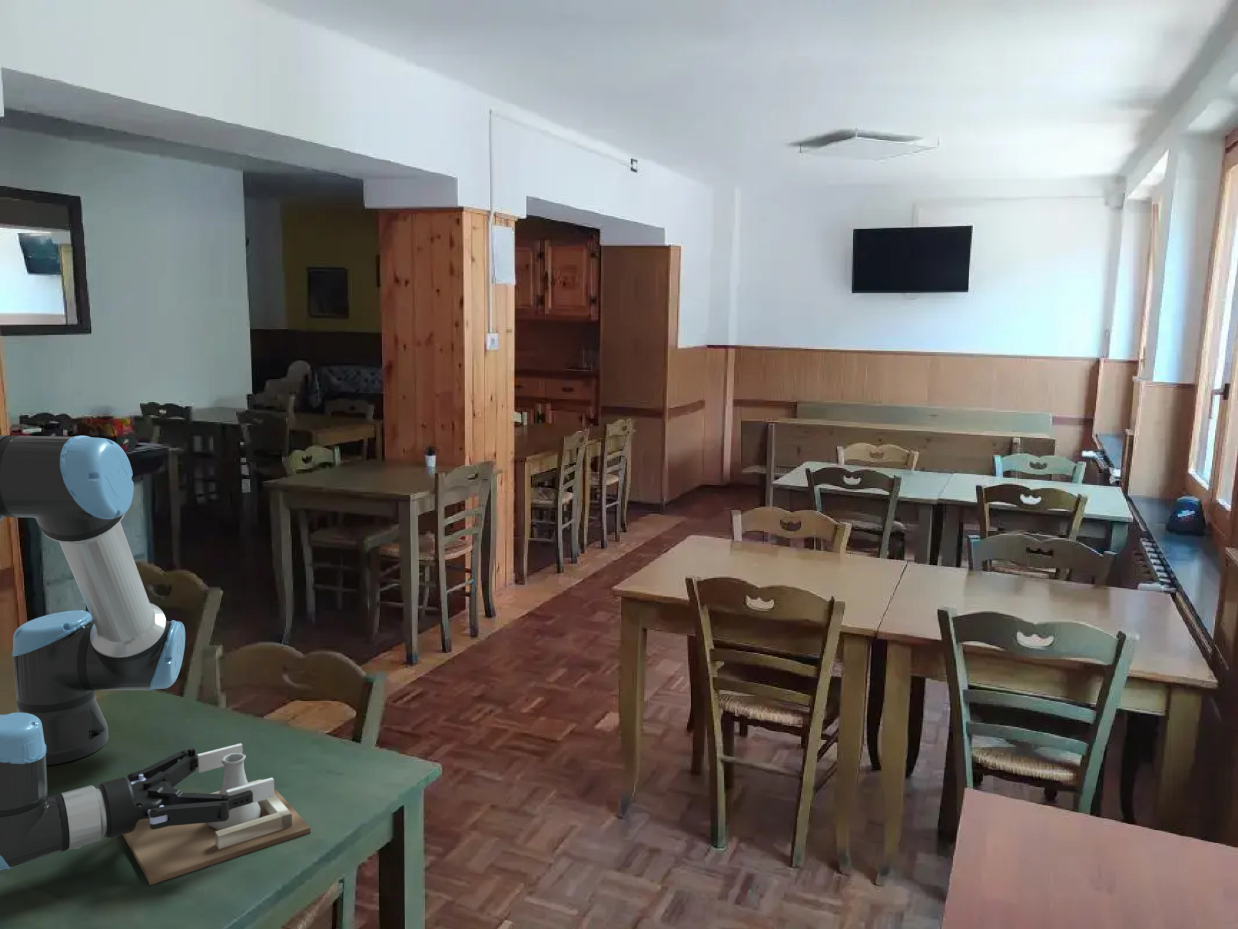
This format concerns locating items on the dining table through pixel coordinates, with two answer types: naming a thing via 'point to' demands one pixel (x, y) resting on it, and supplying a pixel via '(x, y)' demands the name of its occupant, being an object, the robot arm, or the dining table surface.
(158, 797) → the robot arm
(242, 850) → the nook board
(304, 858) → the dining table surface
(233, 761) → the flask
